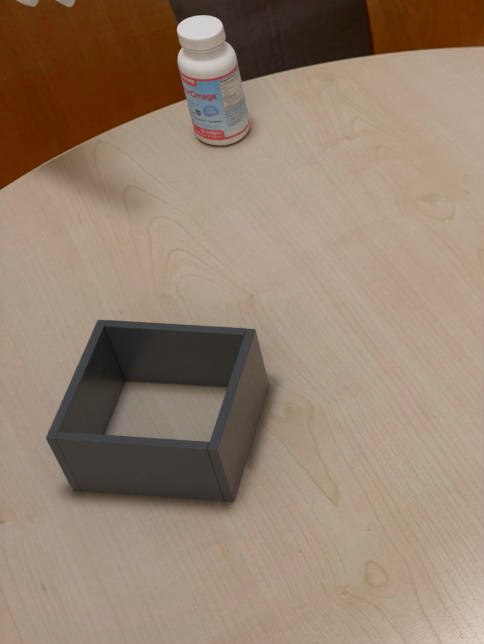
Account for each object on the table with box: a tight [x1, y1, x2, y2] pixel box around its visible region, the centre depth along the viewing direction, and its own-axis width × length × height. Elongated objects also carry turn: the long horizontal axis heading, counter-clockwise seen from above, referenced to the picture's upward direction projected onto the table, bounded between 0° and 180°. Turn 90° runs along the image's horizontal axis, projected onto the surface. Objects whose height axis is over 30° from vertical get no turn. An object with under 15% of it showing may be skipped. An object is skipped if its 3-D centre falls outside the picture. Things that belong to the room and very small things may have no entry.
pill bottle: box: [176, 14, 251, 146], centre depth 112 cm, size 6×6×11 cm
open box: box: [45, 319, 270, 503], centre depth 88 cm, size 14×14×8 cm
